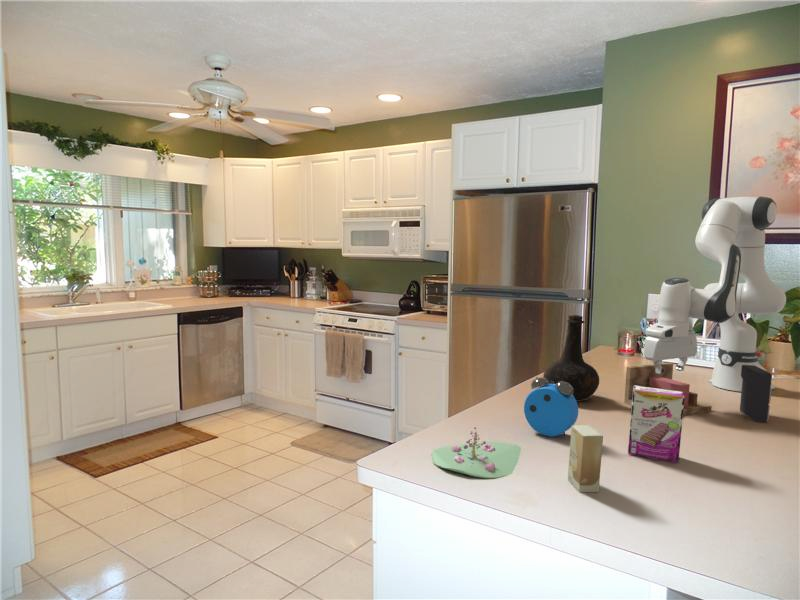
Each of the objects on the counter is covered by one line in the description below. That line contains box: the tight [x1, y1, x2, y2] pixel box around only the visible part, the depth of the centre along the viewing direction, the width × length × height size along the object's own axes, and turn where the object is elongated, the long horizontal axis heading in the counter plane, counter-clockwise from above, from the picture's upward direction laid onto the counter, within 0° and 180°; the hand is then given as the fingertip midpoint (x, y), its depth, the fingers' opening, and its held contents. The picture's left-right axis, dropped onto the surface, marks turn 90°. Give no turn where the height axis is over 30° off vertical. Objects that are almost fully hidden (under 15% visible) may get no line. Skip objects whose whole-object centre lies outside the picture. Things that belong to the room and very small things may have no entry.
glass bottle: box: [542, 314, 600, 402], centre depth 171 cm, size 18×18×28 cm
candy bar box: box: [627, 386, 685, 463], centre depth 124 cm, size 11×5×16 cm, turn 65°
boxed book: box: [649, 376, 691, 407], centre depth 165 cm, size 4×11×7 cm, turn 24°
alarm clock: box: [523, 376, 579, 438], centre depth 137 cm, size 13×6×15 cm, turn 52°
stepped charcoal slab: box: [739, 365, 773, 424], centre depth 156 cm, size 11×4×15 cm, turn 168°
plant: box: [430, 426, 522, 479], centre depth 121 cm, size 25×21×9 cm
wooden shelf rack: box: [623, 362, 713, 416], centre depth 164 cm, size 20×16×12 cm
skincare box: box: [567, 424, 604, 493], centre depth 107 cm, size 6×4×12 cm
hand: (669, 371), depth 164 cm, fingers open, 8 cm apart
